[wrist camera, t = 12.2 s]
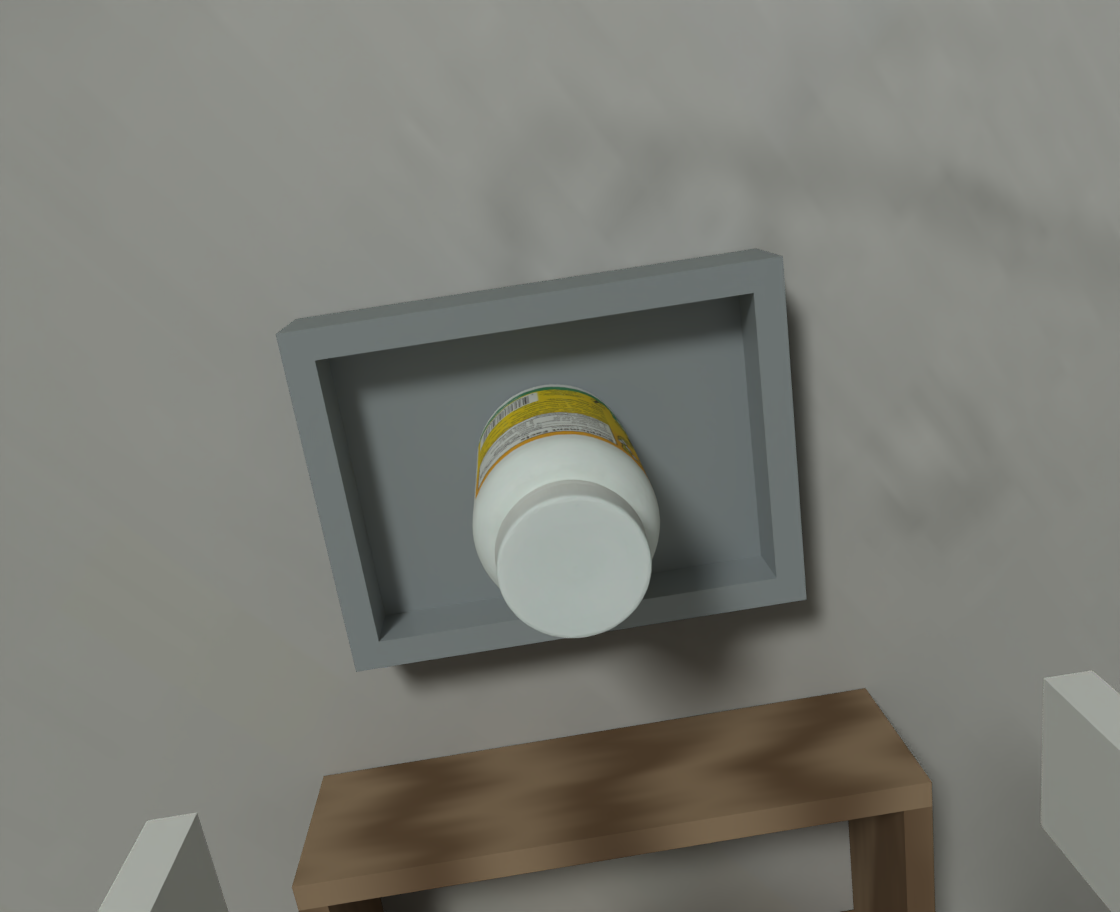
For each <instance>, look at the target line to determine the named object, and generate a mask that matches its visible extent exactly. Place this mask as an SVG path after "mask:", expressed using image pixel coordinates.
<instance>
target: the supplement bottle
mask: <svg viewBox="0 0 1120 912" xmlns="http://www.w3.org/2000/svg"><path fill="white" fill-rule="evenodd" d="M472 526H473V538H474V543H475V548H476V551H477V554H478V557H479V559H480V561H481V563H482V565H483V567H484V569H485V571H486V572H487V574H488V575H489V577H490V578H491V579H492V581H493V582H494V583H495V584H496V585H497V586H498V587H499V588H500V591H501V594H502V596H503V598H504V600H505V601H506V603H507V605H508V606H509V608H510V609H511V610H512V611H513V613H514V614H515V615H516V616H517V617H518V618H519V619H520V620H521V621H523V622H524V623H525V624H527V625H528V626H530V627H532V628H533V629H535V630H537V631H540V632H542V633H544V634H548V635H551V636H555V637H561V638H584V637H589V636H593V635H597V634H600V633H603V632H605V631H608V630H610V629H612V628H614V627H615V626H617V625H618V624H620V623H621V622H623V621H624V620H625V619H626V618H627V617H629V616H630V615H631V614H632V613H633V611H634V610H635V609H636V608H637V607H638V605H639V604H640V602H641V601H642V599H643V597H644V595H645V593H646V591H647V589H648V586H649V582H650V578H651V572H652V558H653V556H654V553H655V551H656V547H657V544H658V538H659V532H660V515H659V507H658V503H657V499H656V496H655V493H654V490H653V488H652V486H651V483H650V481H649V479H648V477H647V475H646V473H645V470H644V468H643V466H642V464H641V462H640V460H639V458H638V456H637V454H636V452H635V450H634V448H633V446H632V443H631V442H630V440H629V437H628V435H627V433H626V432H625V429H624V428H623V426H622V424H621V423H620V422H619V420H618V419H617V417H616V416H615V414H614V413H613V412H612V410H611V409H610V408H609V407H608V406H607V405H606V404H605V403H604V402H603V401H602V400H601V399H599V398H598V397H597V396H595V395H593V394H592V393H590V392H588V391H585V390H583V389H580V388H577V387H573V386H568V385H558V384H549V385H541V386H536V387H533V388H529V389H527V390H524V391H522V392H520V393H518V394H516V395H514V396H512V397H511V398H509V399H508V400H507V401H505V402H504V403H503V404H502V405H501V406H500V407H499V408H498V409H497V410H496V411H495V412H494V413H493V415H492V416H491V417H490V419H489V420H488V422H487V424H486V425H485V427H484V429H483V432H482V434H481V437H480V440H479V445H478V451H477V466H476V482H475V496H474V508H473V524H472Z"/></svg>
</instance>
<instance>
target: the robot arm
mask: <svg viewBox="0 0 1120 912" xmlns="http://www.w3.org/2000/svg"><path fill="white" fill-rule="evenodd" d="M1041 826H1042V827H1043V829H1044V830H1045V831H1046V832H1047V834H1048V835H1049V836H1050V837H1051V838H1052V840H1053V841H1054V842H1055V843H1056V845H1057V846H1058V847H1059V848H1060V849H1061V851H1062V852H1063V853H1064V854H1065V856H1066V857H1067V858H1068V859H1069V861H1070V862H1071V863H1072V864H1073V865H1074V867H1075V868H1076V869H1077V870H1078V872H1079V873H1080V874H1081V875H1082V877H1083V878H1084V879H1085V880H1086V881H1087V883H1088V884H1089V885H1090V886H1091V888H1092V889H1093V890H1094V891H1095V892H1096V894H1097V895H1098V896H1099V897H1100V899H1101V900H1102V901H1103V902H1104V904H1105V905H1106V906H1107V907H1108V908H1109V910H1110V911H1111V912H1120V694H1119V693H1118V692H1117V691H1116V690H1115V689H1113V688H1112V687H1111V686H1110V685H1109V684H1108V683H1106V682H1105V681H1104V680H1103V679H1102V678H1101V677H1099V676H1098V675H1097V674H1096V673H1095V672H1094V671H1086V672H1080V673H1073V674H1067V675H1061V676H1054V677H1048V678H1044V681H1043V733H1042V784H1041ZM98 912H228V909H227V905H226V902H225V899H224V896H223V893H222V890H221V887H220V883H219V880H218V877H217V874H216V871H215V868H214V864H213V861H212V858H211V855H210V852H209V849H208V845H207V842H206V839H205V836H204V833H203V830H202V826H201V823H200V820H199V817H198V814H197V813H192V814H185V815H179V816H173V817H167V818H160V819H154V820H148V821H147V822H146V824H145V825H144V827H143V829H142V831H141V833H140V835H139V836H138V838H137V840H136V842H135V844H134V846H133V848H132V849H131V851H130V853H129V855H128V857H127V859H126V860H125V862H124V864H123V866H122V868H121V870H120V871H119V873H118V875H117V877H116V879H115V881H114V883H113V884H112V886H111V888H110V890H109V892H108V894H107V895H106V897H105V899H104V901H103V903H102V905H101V906H100V908H99V910H98Z"/></svg>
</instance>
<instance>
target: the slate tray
mask: <svg viewBox="0 0 1120 912" xmlns="http://www.w3.org/2000/svg"><path fill="white" fill-rule="evenodd" d="M276 338H277V342H278V346H279V350H280V354H281V359H282V363H283V367H284V371H285V375H286V379H287V384H288V388H289V392H290V396H291V400H292V405H293V409H294V413H295V417H296V421H297V426H298V430H299V434H300V438H301V442H302V447H303V451H304V455H305V459H306V463H307V468H308V472H309V476H310V480H311V484H312V489H313V493H314V497H315V501H316V505H317V510H318V514H319V518H320V522H321V526H322V530H323V535H324V539H325V543H326V547H327V551H328V556H329V560H330V564H331V568H332V572H333V577H334V581H335V585H336V589H337V593H338V598H339V602H340V606H341V610H342V614H343V619H344V623H345V627H346V631H347V635H348V640H349V644H350V648H351V652H352V656H353V661H354V665H355V669H356V672H358V671H364V670H370V669H376V668H383V667H389V666H395V665H401V664H408V663H414V662H420V661H426V660H432V659H439V658H445V657H451V656H457V655H464V654H470V653H476V652H482V651H489V650H495V649H501V648H507V647H514V646H520V645H526V644H532V643H539V642H545V641H551V640H557V639H563V638H561V637H555V636H551V635H548V634H544V633H542V632H540V631H537V630H535V629H533V628H532V627H530V626H528V625H527V624H525V623H524V622H523V621H521V620H520V619H519V618H518V617H517V616H516V615H515V614H514V613H513V611H512V610H511V609H510V608H509V606H508V605H507V603H506V601H505V600H504V598H503V596H502V594H501V591H500V588H499V587H498V586H497V585H496V584H495V583H494V582H493V581H492V579H491V578H490V577H489V575H488V574H487V572H486V571H485V569H484V567H483V565H482V563H481V561H480V559H479V557H478V554H477V551H476V548H475V543H474V538H473V526H472V524H473V508H474V496H475V482H476V466H477V451H478V445H479V440H480V437H481V434H482V432H483V429H484V427H485V425H486V424H487V422H488V420H489V419H490V417H491V416H492V415H493V413H494V412H495V411H496V410H497V409H498V408H499V407H500V406H501V405H502V404H503V403H504V402H505V401H507V400H508V399H509V398H511V397H512V396H514V395H516V394H518V393H520V392H522V391H524V390H527V389H529V388H533V387H536V386H541V385H549V384H558V385H568V386H573V387H577V388H580V389H583V390H585V391H588V392H590V393H592V394H593V395H595V396H597V397H598V398H599V399H601V400H602V401H603V402H604V403H605V404H606V405H607V406H608V407H609V408H610V409H611V410H612V412H613V413H614V414H615V416H616V417H617V419H618V420H619V422H620V423H621V424H622V426H623V428H624V429H625V432H626V433H627V435H628V437H629V440H630V442H631V443H632V446H633V448H634V450H635V452H636V454H637V456H638V458H639V460H640V462H641V464H642V466H643V468H644V470H645V473H646V475H647V477H648V479H649V481H650V483H651V486H652V488H653V490H654V493H655V496H656V499H657V503H658V507H659V515H660V532H659V538H658V544H657V547H656V551H655V553H654V556H653V558H652V572H651V578H650V582H649V586H648V589H647V591H646V593H645V595H644V597H643V599H642V601H641V602H640V604H639V605H638V607H637V608H636V609H635V610H634V611H633V613H632V614H631V615H630V616H629V617H627V618H626V619H625V620H624V621H623V622H621V623H620V624H618V625H617V626H615V627H614V628H612V629H610V630H608V631H613V630H620V629H626V628H632V627H638V626H645V625H651V624H657V623H663V622H670V621H676V620H682V619H688V618H694V617H701V616H707V615H713V614H719V613H726V612H732V611H738V610H744V609H751V608H757V607H763V606H769V605H776V604H782V603H788V602H794V601H801V600H807V599H806V585H805V570H804V556H803V541H802V527H801V513H800V498H799V484H798V469H797V455H796V441H795V426H794V412H793V397H792V383H791V369H790V354H789V340H788V325H787V311H786V297H785V282H784V268H783V256H780V255H777V254H773V253H770V252H767V251H764V250H760V249H751V250H745V251H738V252H731V253H725V254H718V255H712V256H705V257H699V258H692V259H686V260H679V261H673V262H666V263H660V264H653V265H647V266H640V267H633V268H627V269H620V270H614V271H607V272H601V273H594V274H588V275H581V276H575V277H568V278H562V279H555V280H549V281H542V282H535V283H529V284H522V285H516V286H509V287H503V288H496V289H490V290H483V291H477V292H470V293H464V294H457V295H451V296H444V297H438V298H431V299H424V300H418V301H411V302H405V303H398V304H392V305H385V306H379V307H372V308H366V309H359V310H353V311H346V312H340V313H333V314H326V315H320V316H313V317H307V318H300V319H295V320H294V321H293V322H291V323H290V324H289V325H287V326H286V327H285V328H283V329H282V330H280V331H279V332H278V333H276ZM605 632H607V631H605Z"/></svg>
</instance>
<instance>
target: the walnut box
mask: <svg viewBox="0 0 1120 912" xmlns="http://www.w3.org/2000/svg"><path fill="white" fill-rule="evenodd" d="M846 820H849V837H850V854H851V871H852V888H853V905H854V910H848V911H842V912H935V890H934V852H933V813H932V782H931V780H930V779H929V778H928V776H927V775H926V773H925V772H924V770H923V769H922V768H921V766H920V765H919V763H918V762H917V761H916V759H915V758H914V756H913V755H912V754H911V752H910V751H909V749H908V748H907V746H906V745H905V744H904V742H903V741H902V739H901V738H900V737H899V735H898V734H897V732H896V731H895V730H894V728H893V727H892V725H891V724H890V722H889V721H888V720H887V718H886V717H885V715H884V714H883V713H882V711H881V710H880V708H879V707H878V706H877V704H876V703H875V701H874V700H873V698H872V697H871V696H870V694H869V693H868V691H867V690H866V689H865V688H864V689H858V690H852V691H846V692H840V693H834V694H827V695H821V696H815V697H809V698H803V699H797V700H791V701H784V702H778V703H772V704H766V705H760V706H754V707H747V708H741V709H735V710H729V711H723V712H717V713H710V714H704V715H698V716H692V717H686V718H680V719H673V720H667V721H661V722H655V723H649V724H643V725H636V726H630V727H624V728H618V729H612V730H606V731H600V732H593V733H587V734H581V735H575V736H569V737H563V738H556V739H550V740H544V741H538V742H532V743H526V744H519V745H513V746H507V747H501V748H495V749H489V750H482V751H476V752H470V753H464V754H458V755H452V756H445V757H439V758H433V759H427V760H421V761H415V762H409V763H402V764H396V765H390V766H384V767H378V768H372V769H365V770H359V771H353V772H347V773H341V774H335V775H328V776H324V777H323V781H322V784H321V788H320V791H319V795H318V798H317V802H316V805H315V809H314V812H313V816H312V819H311V823H310V826H309V830H308V833H307V837H306V840H305V844H304V847H303V851H302V854H301V858H300V861H299V865H298V868H297V872H296V875H295V879H294V882H293V885H292V889H293V892H294V896H295V899H296V903H297V906H298V910H299V912H384V911H383V907H382V903H381V899H380V897H385V896H391V895H397V894H404V893H410V892H416V891H422V890H428V889H434V888H440V887H446V886H452V885H458V884H464V883H470V882H476V881H482V880H488V879H494V878H501V877H507V876H513V875H519V874H525V873H531V872H537V871H543V870H549V869H555V868H561V867H567V866H573V865H579V864H585V863H592V862H598V861H604V860H610V859H616V858H622V857H628V856H634V855H640V854H646V853H652V852H658V851H664V850H670V849H676V848H682V847H689V846H695V845H701V844H707V843H713V842H719V841H725V840H731V839H737V838H743V837H749V836H755V835H761V834H767V833H773V832H779V831H786V830H792V829H798V828H804V827H810V826H816V825H822V824H828V823H834V822H840V821H846Z"/></svg>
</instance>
